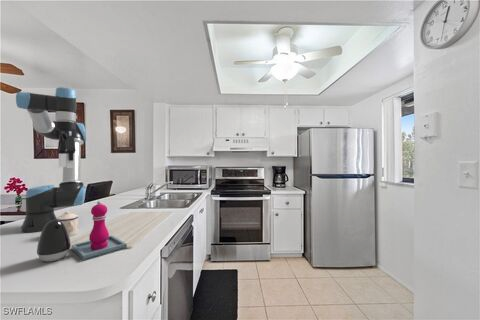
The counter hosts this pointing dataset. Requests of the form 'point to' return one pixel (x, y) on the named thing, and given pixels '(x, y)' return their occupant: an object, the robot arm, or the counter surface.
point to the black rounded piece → (53, 241)
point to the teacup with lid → (69, 222)
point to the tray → (87, 253)
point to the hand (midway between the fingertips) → (66, 167)
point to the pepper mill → (99, 227)
